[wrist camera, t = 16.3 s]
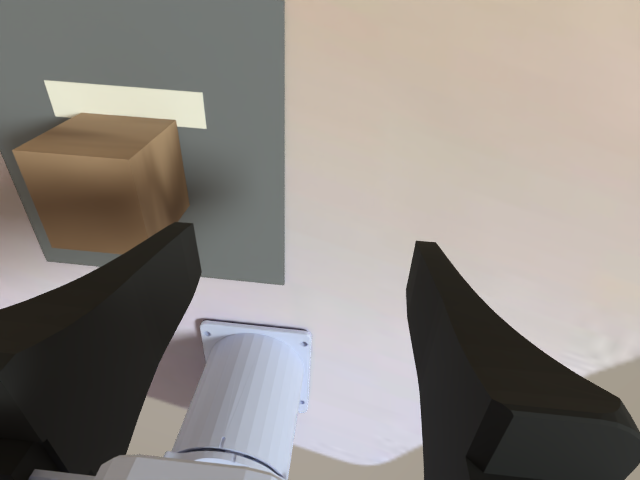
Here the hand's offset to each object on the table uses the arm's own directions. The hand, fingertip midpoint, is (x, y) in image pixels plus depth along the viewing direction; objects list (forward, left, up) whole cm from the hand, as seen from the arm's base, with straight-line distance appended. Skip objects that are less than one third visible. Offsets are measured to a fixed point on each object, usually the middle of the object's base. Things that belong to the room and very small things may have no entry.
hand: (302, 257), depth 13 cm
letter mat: (-2, +10, -10) cm, 14 cm away
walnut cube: (-2, +10, -9) cm, 14 cm away
